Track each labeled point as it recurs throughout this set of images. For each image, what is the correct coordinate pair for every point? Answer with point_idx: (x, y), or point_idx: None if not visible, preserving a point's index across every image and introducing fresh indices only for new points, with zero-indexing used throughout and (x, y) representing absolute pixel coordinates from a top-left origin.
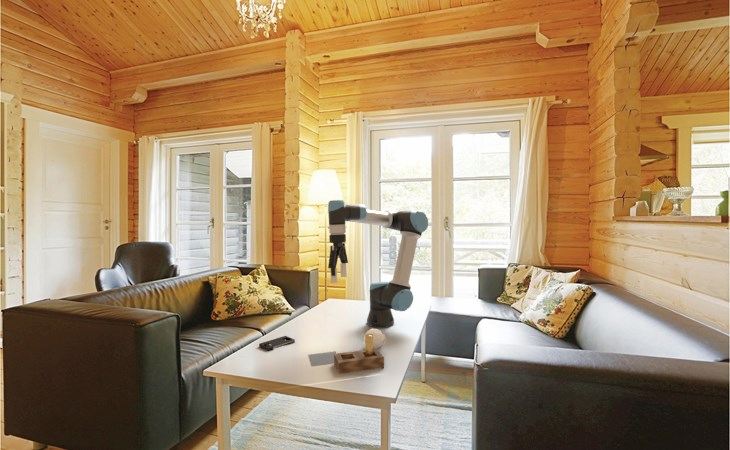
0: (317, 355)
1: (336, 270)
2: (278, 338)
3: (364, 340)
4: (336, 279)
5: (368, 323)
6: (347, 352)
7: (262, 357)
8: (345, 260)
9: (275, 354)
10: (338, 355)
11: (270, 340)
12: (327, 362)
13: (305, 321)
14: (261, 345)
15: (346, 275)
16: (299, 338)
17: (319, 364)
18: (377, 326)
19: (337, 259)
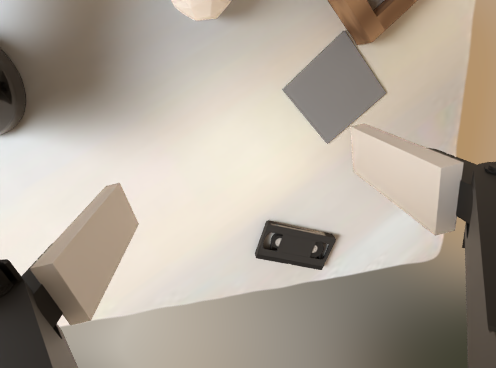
0: (324, 119)
1: (436, 154)
2: (278, 258)
3: (220, 13)
4: (380, 131)
5: (17, 116)
6: (352, 5)
7: (365, 222)
8: (12, 305)
9: (343, 211)
10: (381, 20)
11: (296, 264)
12: (355, 67)
13: (123, 292)
14: (324, 261)
15: (103, 190)
16: (238, 228)
17: (372, 80)
18: (15, 72)
19: (492, 254)
